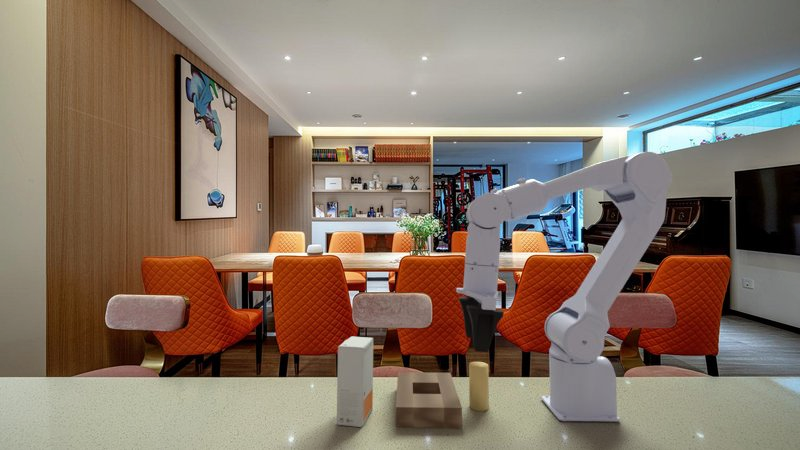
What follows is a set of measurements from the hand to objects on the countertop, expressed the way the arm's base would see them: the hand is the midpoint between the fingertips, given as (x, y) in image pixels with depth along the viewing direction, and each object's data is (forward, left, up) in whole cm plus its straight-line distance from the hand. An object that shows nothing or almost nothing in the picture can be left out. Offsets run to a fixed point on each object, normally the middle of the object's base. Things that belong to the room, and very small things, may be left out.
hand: (476, 343), depth 61 cm
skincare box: (+20, +4, -11) cm, 23 cm away
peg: (0, 0, -11) cm, 11 cm away
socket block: (+9, 0, -11) cm, 14 cm away
